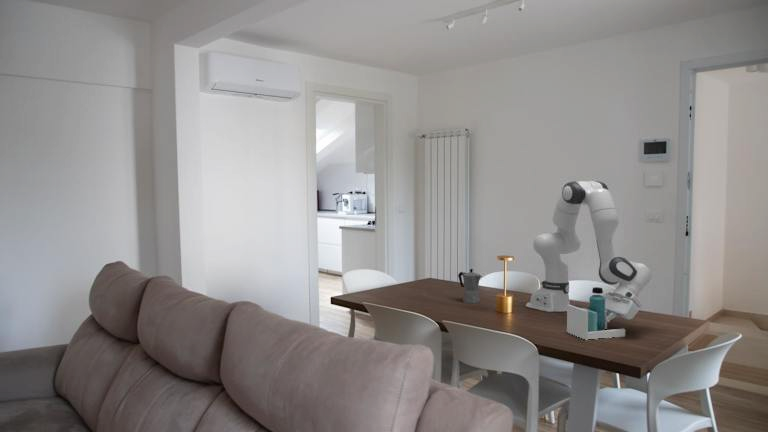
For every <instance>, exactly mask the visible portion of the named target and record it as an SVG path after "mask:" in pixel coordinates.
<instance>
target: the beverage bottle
mask: <svg viewBox="0 0 768 432" xmlns="http://www.w3.org/2000/svg"><path fill="white" fill-rule="evenodd" d="M591 290H592V291H591V292H592V295H591V296H589V306H588V310H591V311H594V312H596V313H597V331H603V330H605V298H604V297H603V295H600V294H603V293H604V291H603V287H592V289H591Z"/></svg>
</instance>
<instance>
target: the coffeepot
mask: <svg viewBox="0 0 768 432" xmlns="http://www.w3.org/2000/svg"><path fill="white" fill-rule="evenodd" d="M473 270H474V269H472V268H471V269H469V272H463V271H460V272H459V273H458V274H457V277H458V280H459V285H460V287H462V288H465V289H464V292H463V298H462V302H463V303H464V304H465V303H466V304H478V303H480V301H481V300H480V293H479V290H478V289H479V288H478V287H479V285H480V280H481V278H482V275H481V274H480V273H476V272H474V271H473ZM462 278H463V280H462Z"/></svg>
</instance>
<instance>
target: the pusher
mask: <svg viewBox="0 0 768 432" xmlns="http://www.w3.org/2000/svg"><path fill="white" fill-rule="evenodd" d="M580 308H581V309H584V310H586V311H588V332H593V331H597V313H596V312H594V311H591V310H589V308H585V307H580Z"/></svg>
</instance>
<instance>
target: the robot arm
mask: <svg viewBox="0 0 768 432" xmlns="http://www.w3.org/2000/svg"><path fill="white" fill-rule="evenodd" d="M558 197H559V198H558V200H557V203H556V205H555V208H554V212H553V215H552V223H553V224H554V225H555V226H556V227H557V231H555V232H547V233H546V232H545V233H542V234H539V235H536V236H535V237H534V240H533V241H532V242H533V243H532V245H533V246H532V247H533V249H534V251H535V252H536V253H537V254H538V255H539V256H540V257H541V259H542V261H543V264H544V270H545V272H544V273H545V276H544V277H545V280H543V281H541V282H540V285H542V286H541V287H540V288H539V289H537V290H536V291H534V292H533V293H532V294H531V296H530V302H529V301H528V302H527V303H526V304H525V307H527V308H529V309H530V308H531V309H535V310H539V311H544V312H547V313H552V312H561V313H562V312H567V305H571V302H570V296H569V293H570V281H569V267H568V265H567V264H566V262H563V261H562V259H561V255H566V254H572V253H574V252H577V251H578V250H580V248H581V238H580V236H579V235H578V234H577V233H576V223H577V220H578V216H579V213H580V209H581V206H583V205H587V207H588V208H589V213H590V218H591V221H592V225H593V229H594V233H595V239H596V244H597V245H596V246H597V252H598V256H599V258H598V259H599V267H598V276H599V278H600V280H601V281H602V282H603V283H605V284H606V285H609V286H610V285H617V284H618V285H617V286H616V288H615V289H614V291H612V292H608V293H604V294H602V296H603V297H604V298H605V322H606V323H607V324H608V323H610V322H611V321H612V320H613V319H615V318H616V317H618V318H622V319H625V320H628V321H630V320H632V319H633V318H635V316H636V314H637V313H638V312H639V310H640V309H641V308H642V307H643V303H642V302H641V300H640V299H639V296H640V294H641V292H643V291H644V290H645V289H646V287H647V286H648V285H649V283H650V281H651V280H652V277H653V273H652V271H651V269H650V268H649V266H647V265H646V264H644V263H642V262H633V261H631V260H628V259H626V257H622V256H615V252H614V246H613V238H614V234H615V233H616V230H617V228H618V226H619V214H618V209H617V207H616V203H615V200H614V198H613V196H612V194H611V192H610V190H609V187H608V185H607V184H606V183H605V182H602V181H598V180H597V181H595V180H594V181H593V180H581V181H575V180H574V181H569V182H566V184H564V185H563V187H562V191H561V193H560V195H559V196H558Z"/></svg>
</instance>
